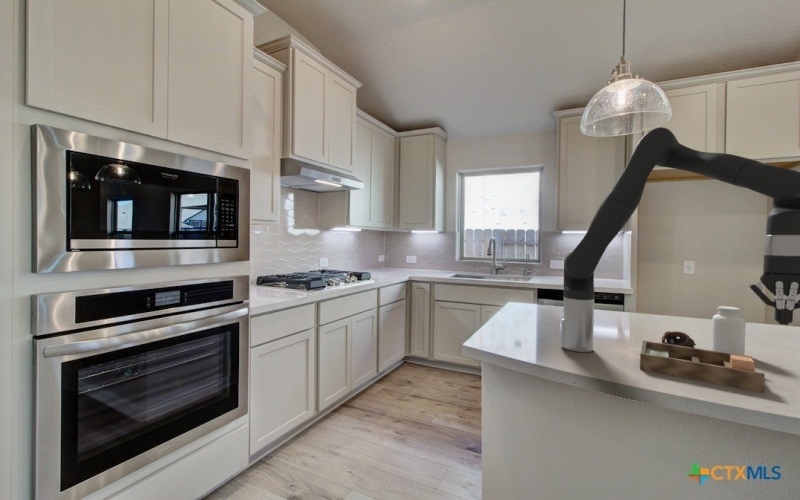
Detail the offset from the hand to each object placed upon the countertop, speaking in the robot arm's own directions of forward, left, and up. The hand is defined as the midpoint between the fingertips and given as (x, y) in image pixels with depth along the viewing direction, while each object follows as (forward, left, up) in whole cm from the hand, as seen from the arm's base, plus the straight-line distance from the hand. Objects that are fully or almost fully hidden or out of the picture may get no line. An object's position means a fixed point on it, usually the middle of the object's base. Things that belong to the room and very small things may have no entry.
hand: (782, 324), depth 87 cm
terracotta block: (-7, 0, -14) cm, 16 cm away
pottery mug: (-20, +20, -17) cm, 32 cm away
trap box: (-16, +3, -16) cm, 23 cm away
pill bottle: (-7, +29, -17) cm, 35 cm away
